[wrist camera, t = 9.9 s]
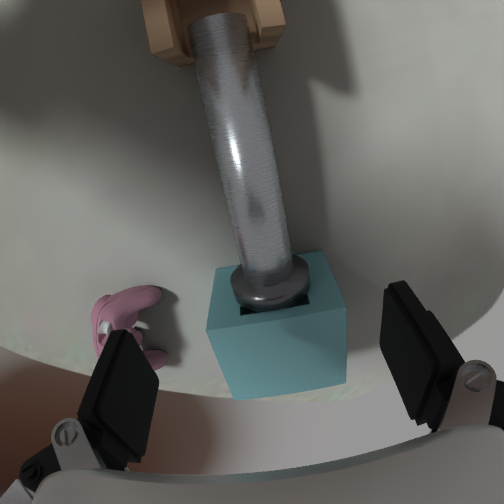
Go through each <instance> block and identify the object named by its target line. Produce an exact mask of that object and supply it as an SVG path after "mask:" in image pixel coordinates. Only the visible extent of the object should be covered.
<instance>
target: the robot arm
mask: <svg viewBox="0 0 504 504" xmlns="http://www.w3.org/2000/svg"><path fill="white" fill-rule="evenodd" d="M380 348H381V351H382V353H383V356H384V358H385V360H386V362H387V365H388V367H389V369H390V371H391V374H392V376H393V378H394V381H395V383H396V385H397V388H398V390H399V393H400V395H401V397H402V400H403V402H404V405H405V407H406V410H407V412H408V415H409V417H410V418H411V420H414V419H415V421H416V423H417V426H418V425H421V424H424V423H427V425H428V427H429V428H430V429H431V430H430V433H429V434H428V435H425V436H422V437H419V438H415V439H412V440H409V441H406V442H403V443H400V444H397V445H393V446H390V447H387V448H383V449H379V450H376V451H372V452H368V453H364V454H361V455H357V456H353V457H349V458H344V459H340V460H335V461H330V462H325V463H320V464H315V465H309V466H303V467H297V468H290V469H283V470H275V471H267V472H255V473H242V474H226V475H171V474H153V473H140V472H130V471H129V470H128V468H127V462H135V463H140V461H141V457H142V456H144V455H145V451H146V447H147V441H148V436H149V431H150V426H151V421H152V416H153V411H154V406H155V401H156V397H157V392H158V387H159V379H158V376H157V375H156V373H155V371H154V370H153V368H152V367H151V365H150V363H149V362H148V360H147V358H146V357H145V355H144V353H143V352H142V350H141V348H140V346H139V345H138V343H137V341H136V339H135V338H134V336H133V334H132V333H131V332H128V331H127V330H126V329H120V330H112V331H111V332H110V334H109V336H108V339H107V341H106V343H105V345H104V348H103V350H102V352H101V355H100V357H99V359H98V362H97V364H96V367H95V369H94V371H93V374H92V376H91V379H90V381H89V384H88V386H87V389H86V391H85V394H84V397H83V399H82V402H81V405H80V407H79V410H78V413H77V415H78V419H77V420H76V419H73V418H66V419H64V420H61V421H60V422H59V423H58V424H57V425H56V426H55V427H54V429H53V432H52V436H51V439H52V444H50V445H49V446H47V447H46V448H44V449H43V450H41V451H40V452H38V453H37V454H35V455H34V456H32V457H31V458H29V459H28V460H26V461H25V462H24V463H23V465H22V466H21V469H20V475H19V476H20V481H19V480H18V479H16V481H15V482H14V483H13V484H12V485H11V486H10V487H9V489H8V490H7V491H6V492H5V493H4V494H3V496H2V497H1V498H0V504H504V382H502V381H499V380H496V374H495V371H494V369H493V368H492V367H491V366H490V365H489V364H487V363H486V362H483V361H481V360H471V361H468V362H466V363H465V361H464V360H463V358H462V357H461V355H460V353H459V352H458V350H457V349H456V347H455V346H454V344H453V342H452V341H451V339H450V338H449V336H448V335H447V333H446V332H445V330H444V329H443V327H442V326H441V324H440V323H439V322H438V320H437V319H436V317H435V316H434V314H433V313H432V312H431V311H429V310H428V311H426V310H425V308H424V307H423V305H422V304H421V302H420V301H419V300H418V298H417V297H416V295H415V294H414V293H413V291H412V290H411V288H410V287H409V286H408V284H407V283H406V282H405V281H399V282H394V283H390V284H389V285H388V288H387V289H385V290H384V298H383V311H382V322H381V332H380Z"/></svg>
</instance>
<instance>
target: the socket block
mask: <svg viewBox="0 0 504 504" xmlns="http://www.w3.org/2000/svg"><path fill="white" fill-rule="evenodd" d="M297 256H299V257H301V258H303V259H304V260H305V261H306V262H307V264H308V267H309V275H310V288H309V291H308V292H307V294H306V295H305V296H304V297H303V298H302V299H301V300H300V301H299V306H296V307H290V308H285V309H280V310H275V311H267V312H261V313H255V314H253V310H249V309H247V308H244V307H242V306H241V305H240V304H238V302H237V301H236V299H235V297H234V293H233V290H232V286H231V282H230V278H231V275H232V273H233V271H234V270H235V269H236V268H237V267H238V266H239V265H236V266H230V267H224V268H219V269H216V272H215V278H214V284H213V290H212V295H211V302H210V308H209V314H208V320H207V326H206V332H207V335H208V337H209V340H210V342H211V345H212V347H213V350H214V352H215V355H216V357H217V360H218V362H219V365H220V367H221V370H222V372H223V375H224V377H225V379H226V382H227V384H228V386H229V389H230V391H231V393H232V396H233V398H234V400H245V399H254V398H262V397H270V396H277V395H284V394H290V393H297V392H303V391H308V390H314V389H319V388H324V387H329V386H334V385H339V384H344V383H346V367H347V306H346V304H345V301H344V299H343V297H342V294H341V292H340V289H339V287H338V285H337V282H336V280H335V278H334V276H333V273H332V271H331V269H330V266H329V264H328V262H327V260H326V257H325V255H324V253H323V251H322V250H320V251H315V252H309V253H304V254H298V255H297Z"/></svg>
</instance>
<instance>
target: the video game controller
mask: <svg viewBox="0 0 504 504" xmlns="http://www.w3.org/2000/svg"><path fill="white" fill-rule="evenodd" d="M161 297H162V292H161V290H160V289H159V288H157V287H154V286H137V287H132V288H129V289H126V290H123V291H121V292H118V293H116V294H114V295H105V296H103V297H101V298H100V299H99V300H98V301H97V302H96V303H95V305H94V307H93V310H92V314H91V321H92V324H93V341H94V347H95V351H96V354H97V356H98V359H99V357H100V355H101V352H102V350H103V348H104V345H105V343H106V341H107V339H108V336H109V334H110V332H111V331H112V330H120V329H125V328H127V329H126V330H127V331H128V332H131V333H132V334H133V336H134V338H135V339H136V341H137V343H138V345H139V346H140V344H141V342H142V338H143V336H142V333H141V332H140V331H138V330H136V329H135V328H133V327H132V326H133V325H134V324H135V323H136V321H137V319H138V314H139V310H142V309H144V308H147V307H150V306H152V305H154V304H155V303H156V302H158V301H159V300H160V299H161ZM142 352H143V353H144V355H145V357H146V358H147V360H148V362H149V363H150V365H151V367H152V368H153V370H154V371H155V370H157V369H160V368H161V367H163V366H164V365H165V364H166V363H167V361H168V355H167V354H166V352H164V351H161V350H145V351H142Z"/></svg>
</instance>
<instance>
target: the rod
mask: <svg viewBox="0 0 504 504" xmlns="http://www.w3.org/2000/svg"><path fill="white" fill-rule="evenodd" d="M187 33H188V37H189V42H190V46H191V51H192V55H193V60H194V65H195V69H196V74H197V78H198V83H199V87H200V91H201V96H202V100H203V105H204V109H205V113H206V118H207V122H208V127H209V131H210V135H211V140H212V144H213V148H214V153H215V157H216V161H217V165H218V170H219V174H220V178H221V182H222V187H223V191H224V195H225V199H226V203H227V208H228V212H229V216H230V220H231V224H232V228H233V233H234V237H235V241H236V245H237V249H238V253H239V257H240V261H241V264H240V265H239V266H238V267H237V268H236V269H235V270H234V271H233V273H232V275H231V278H230V282H231V286H232V290H233V293H234V297H235V299H236V301H237V302H238V304H240V305H241V306H242V307H244V308H247V309H249V310H253V314H255V313H261V312H267V311H275V310H280V309H285V308H290V307H296V306H299V301H300V300H301V299H302V298H303V297H304V296H305V295H306V294H307V292H308V291H309V288H310V275H309V267H308V264H307V262H306V261H305V260H304V259H303V258H301V257H299V256H297V255H294V254H292V253H291V247H290V240H289V234H288V228H287V221H286V215H285V209H284V203H283V197H282V192H281V186H280V180H279V174H278V169H277V163H276V158H275V152H274V147H273V141H272V136H271V131H270V126H269V121H268V116H267V110H266V105H265V101H264V96H263V91H262V86H261V81H260V76H259V72H258V67H257V62H256V58H255V53H254V49H253V44H252V40H251V35H250V31H249V27H248V22H247V18H246V15H244V14H242V13H220V14H215V15H210V16H207V17H204V18H201V19H198V20H196V21H194V22H192V23H191V24H189V25H188V26H187Z"/></svg>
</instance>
